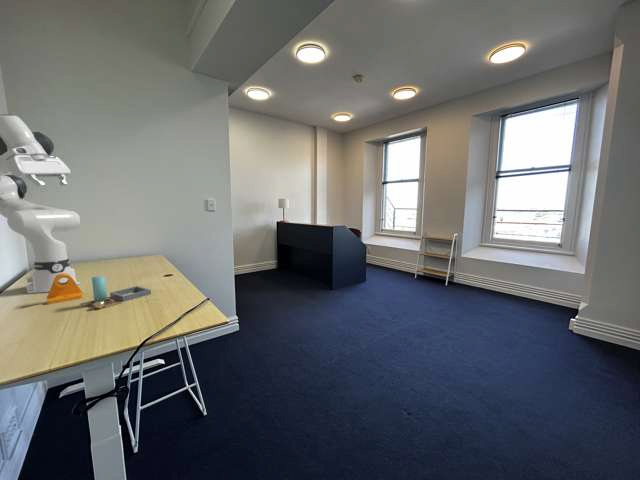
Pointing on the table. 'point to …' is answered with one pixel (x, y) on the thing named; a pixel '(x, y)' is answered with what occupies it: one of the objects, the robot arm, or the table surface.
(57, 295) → the bracket
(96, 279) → the dowel
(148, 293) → the tray
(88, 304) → the jig plate
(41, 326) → the table surface
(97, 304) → the bench dog
